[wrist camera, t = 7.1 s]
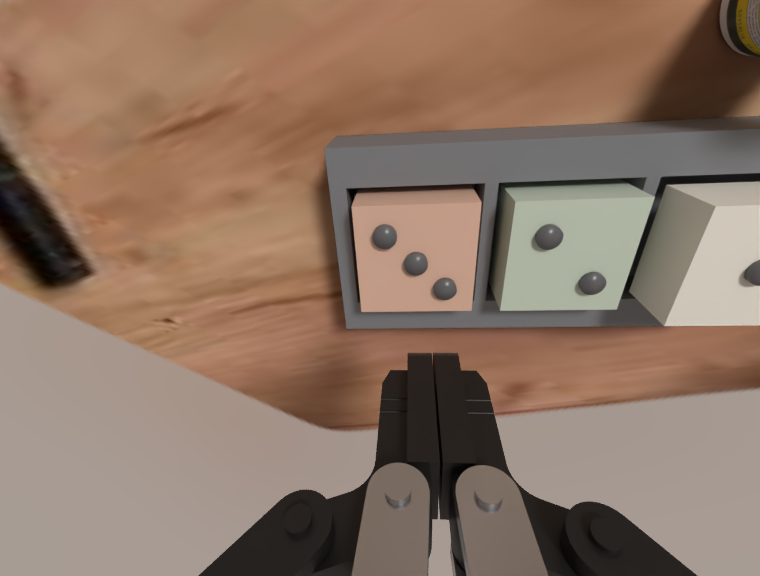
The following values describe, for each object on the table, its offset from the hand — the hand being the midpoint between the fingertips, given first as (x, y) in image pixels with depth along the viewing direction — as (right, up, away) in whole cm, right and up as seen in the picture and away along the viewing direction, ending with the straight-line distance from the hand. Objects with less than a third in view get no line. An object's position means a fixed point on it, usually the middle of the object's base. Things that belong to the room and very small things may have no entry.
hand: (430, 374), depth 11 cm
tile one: (+14, +5, +6) cm, 16 cm away
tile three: (0, +5, +9) cm, 10 cm away
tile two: (+7, +6, +8) cm, 12 cm away
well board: (+7, +7, +10) cm, 14 cm away
